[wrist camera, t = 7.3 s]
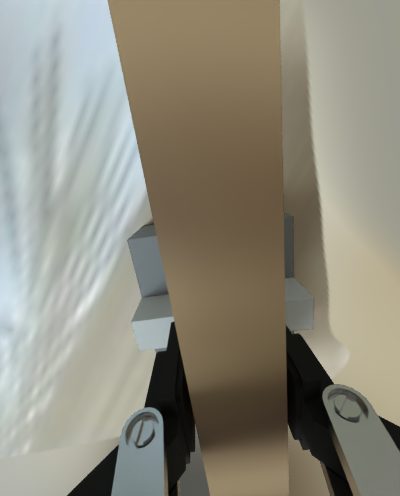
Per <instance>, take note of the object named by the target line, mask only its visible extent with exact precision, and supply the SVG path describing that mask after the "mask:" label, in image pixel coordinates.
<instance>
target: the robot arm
mask: <svg viewBox="0 0 400 496" xmlns="http://www.w3.org/2000/svg"><path fill="white" fill-rule="evenodd" d="M286 365H287V418H288V425H289V428H290V430H291V433H292V435H293V438H294V439H295V440H299V441H300V444H301V446H302V449H303V450H308V449H310V452H311V454H312V456H314V457H315V458H317V459H318V460H319V461H320V464H321V467H322V470H323V473H324V477H325V480H326V483H327V486H328V490H329V492H330V496H400V427H399V426H397V425H395V424H393V423H391V422H389V421H388V420H385V419H384V418H382V417H380V416H378V415H377V414H376V412H375V410H374V409H373V407H372V405H371V404H370V403H369V401H368V400H367V399H366V398H365V397H364V396H363V395H361V393H359V392H358V391H356V390H354V389H353V388H350V387H348V386H345V385H339V384H335V385H334V383H333V382H332V380H331V379H330V377H329V376H328V374H327V373H326V371H325V370H324V368H323V367H322V365H321V364H320V362H319V361H318V359H317V358H316V357H315V355H314V354H313V352H312V351H311V349H310V348H309V346H308V345H307V343H306V342H305V340H304V339H303V337H302V336H301V335H300V334H292V333H291V331H290V330H289V328H288V327H287V325H286ZM194 451H195V419H194V414H193V409H192V404H191V399H190V395H189V390H188V385H187V380H186V375H185V371H184V366H183V361H182V356H181V351H180V346H179V342H178V337H177V332H176V327H175V322H171V326H170V332H169V338H168V343H167V349H166V351H159V352H157V354H156V358H155V362H154V366H153V371H152V375H151V380H150V384H149V389H148V393H147V398H146V402H145V407H144V408H143V409H140V410H138V411H137V412H135V413H134V414H133V415H131V417H130V418H129V419H128V420H127V421H126V423H125V425H124V427H123V429H122V432H121V436H120V443H119V445H118V446H117V447H116V448H115V449H114V450H113V451H112V452H111V453H110V454H109V455H108V456H107V457H106V458H105V459H104V460H103V461H101V463H100V464H99V465H97V467H95V468H94V469H93V470H92V472H90V473H89V474H88V475H87V476H86V477H85V478H84V479H83V480H82V481H81V482H80V483H79V484H78V485H77V486H76V487H75V488H74V489H73V490H72V491H71V492H70V493H69V494H68V495H67V496H180V484H179V478H180V477H181V475H182V474H183V473H184V471H185V470H186V464H188V463H190V452H194Z"/></svg>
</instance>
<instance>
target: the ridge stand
mask: <svg viewBox="0 0 400 496" xmlns="http://www.w3.org/2000/svg"><path fill="white" fill-rule="evenodd" d="M127 242H128V245H129V249H130V253H131V257H132V261H133V265H134V269H135V272H136V276H137V280H138V284H139V288H140V292H141V296H142V299H141V301H140V303H139V306H138V308H137V310H136V312H135V314H134V317H133V319H132V321H131V324H132V327H133V331H134V334H135V338H136V341H137V345H138V348H139V351H143V350H151V349H155V350H156V354H157V352H159V351H166V349H167V343H168V338H169V332H170V326H171V322H174V317H173V313H172V308H171V303H170V298H169V293H168V289H167V284H166V279H165V274H164V269H163V264H162V260H161V255H160V250H159V245H158V240H157V235H156V231H155V226H154V225H147V226H143V227H141V228H140V229H139V230H138V231H137V232H136V233H135V234H133V235H132V236H131V237H130V238H129V239H128V240H127ZM284 261H285V313H286V325H287V327H288V328H289V330H290V331H291V333H292V334H294V331H298V330H305V329H313V322H314V297H313V296H312V295H311V294H310V293H309V292H308V291H307V290H306V289H305V288H304V287H303V286H302V285H301V284H300V283H299V282H298V281H297V280H296V279H295V278H294V248H293V216H291V215H289V214H286V213H284Z"/></svg>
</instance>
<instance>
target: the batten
mask: <svg viewBox="0 0 400 496" xmlns="http://www.w3.org/2000/svg"><path fill="white" fill-rule="evenodd" d="M108 4H109V9H110V14H111V18H112V23H113V28H114V33H115V38H116V43H117V47H118V52H119V57H120V62H121V67H122V71H123V76H124V81H125V86H126V91H127V96H128V100H129V105H130V110H131V115H132V120H133V125H134V129H135V134H136V139H137V144H138V149H139V153H140V158H141V163H142V168H143V173H144V178H145V182H146V187H147V192H148V197H149V202H150V207H151V211H152V216H153V221H154V226H155V231H156V235H157V240H158V245H159V250H160V255H161V260H162V264H163V269H164V274H165V279H166V284H167V289H168V293H169V298H170V303H171V308H172V313H173V317H174V322H175V327H176V332H177V337H178V342H179V346H180V351H181V356H182V361H183V366H184V371H185V375H186V380H187V385H188V390H189V395H190V399H191V404H192V409H193V414H194V419H195V424H196V428H197V433H198V438H199V442H200V448H201V452H202V457H203V462H204V467H205V472H206V477H207V481H208V486H209V491H210V496H289V474H288V473H289V470H288V418H287V365H286V313H285V261H284V209H283V156H282V104H281V52H280V0H108Z"/></svg>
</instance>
